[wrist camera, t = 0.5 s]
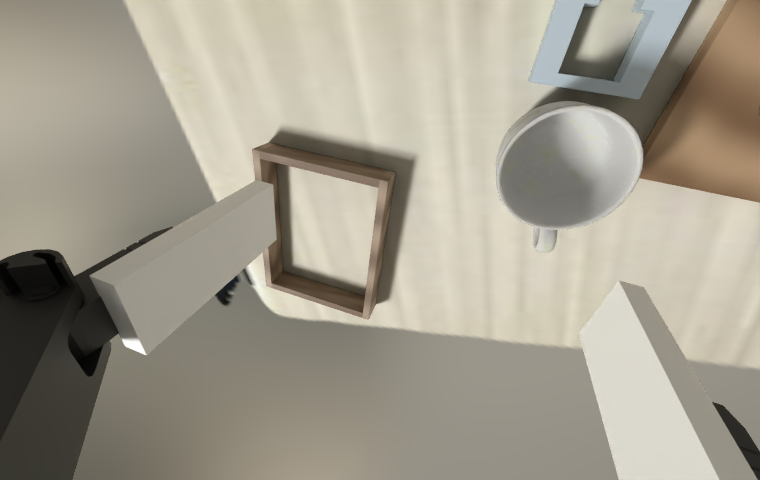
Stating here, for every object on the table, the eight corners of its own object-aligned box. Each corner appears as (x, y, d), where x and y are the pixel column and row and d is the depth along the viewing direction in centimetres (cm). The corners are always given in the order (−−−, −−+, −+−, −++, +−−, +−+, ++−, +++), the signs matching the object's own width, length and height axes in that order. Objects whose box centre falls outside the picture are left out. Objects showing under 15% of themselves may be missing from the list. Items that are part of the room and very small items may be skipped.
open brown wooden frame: (268, 142, 43) (252, 149, 40) (395, 171, 39) (387, 181, 36) (278, 273, 55) (266, 286, 52) (375, 304, 52) (368, 319, 49)
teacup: (516, 84, 31) (521, 94, 24) (638, 104, 29) (680, 121, 22) (475, 210, 39) (471, 242, 32) (570, 233, 36) (586, 273, 30)
